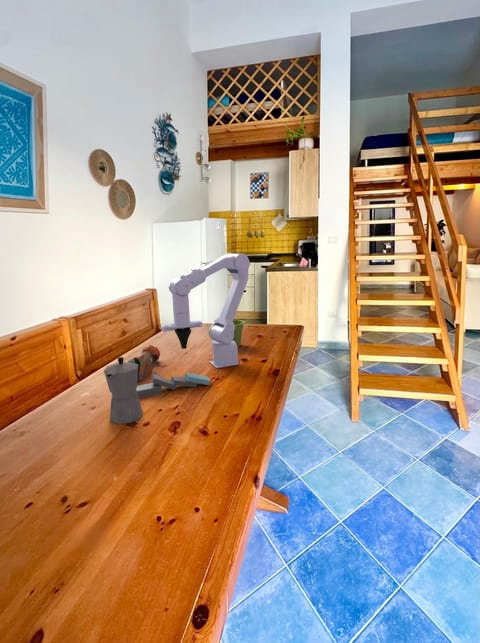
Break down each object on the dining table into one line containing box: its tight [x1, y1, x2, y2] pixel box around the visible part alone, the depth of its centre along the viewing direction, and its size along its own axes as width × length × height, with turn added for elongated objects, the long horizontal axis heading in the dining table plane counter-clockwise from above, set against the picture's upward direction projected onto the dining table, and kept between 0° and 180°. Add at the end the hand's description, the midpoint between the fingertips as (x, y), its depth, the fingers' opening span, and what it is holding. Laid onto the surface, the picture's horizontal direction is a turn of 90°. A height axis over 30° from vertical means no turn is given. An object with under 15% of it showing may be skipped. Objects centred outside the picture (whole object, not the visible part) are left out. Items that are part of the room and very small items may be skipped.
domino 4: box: [170, 375, 198, 388], centre depth 129 cm, size 2×4×8 cm
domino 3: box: [150, 373, 178, 391], centre depth 127 cm, size 2×4×8 cm
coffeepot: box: [103, 356, 144, 425], centre depth 108 cm, size 15×9×18 cm, turn 163°
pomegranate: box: [141, 344, 161, 363], centre depth 155 cm, size 7×7×10 cm
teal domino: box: [184, 372, 211, 386], centre depth 130 cm, size 2×4×8 cm
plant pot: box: [232, 319, 246, 348], centre depth 173 cm, size 12×12×11 cm
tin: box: [133, 351, 154, 382], centre depth 140 cm, size 15×3×8 cm, turn 168°
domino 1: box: [136, 382, 163, 396], centre depth 125 cm, size 2×4×8 cm
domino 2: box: [138, 390, 163, 399], centre depth 125 cm, size 2×4×8 cm
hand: (183, 348), depth 140 cm, fingers closed
